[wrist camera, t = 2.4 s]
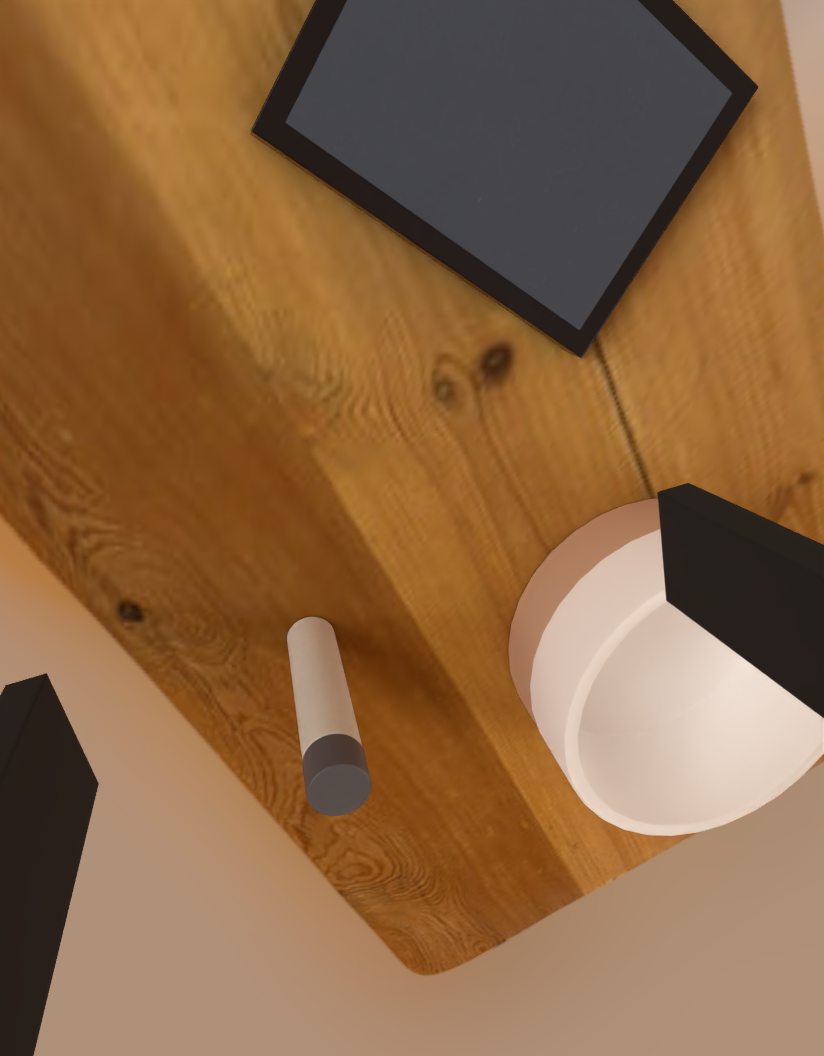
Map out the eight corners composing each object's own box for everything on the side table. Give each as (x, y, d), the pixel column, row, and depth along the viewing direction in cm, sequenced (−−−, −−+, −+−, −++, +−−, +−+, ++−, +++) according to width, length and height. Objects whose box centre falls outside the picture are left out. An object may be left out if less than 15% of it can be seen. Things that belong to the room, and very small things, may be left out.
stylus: (278, 647, 40) (294, 806, 29) (301, 608, 39) (327, 756, 28) (320, 664, 41) (351, 823, 30) (343, 626, 40) (383, 775, 29)
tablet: (249, 133, 30) (250, 130, 29) (427, -223, 27) (435, -243, 26) (571, 354, 37) (582, 358, 36) (742, 90, 34) (761, 86, 33)
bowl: (448, 657, 42) (494, 751, 35) (657, 435, 40) (755, 486, 32) (623, 779, 50) (693, 879, 42) (810, 598, 47) (920, 670, 39)
